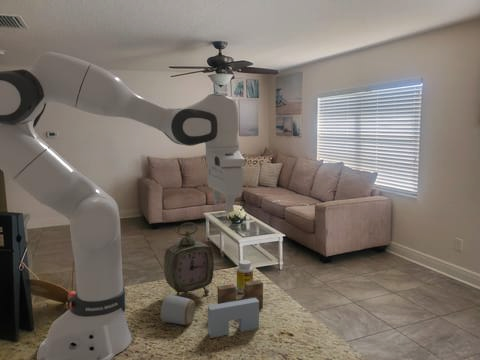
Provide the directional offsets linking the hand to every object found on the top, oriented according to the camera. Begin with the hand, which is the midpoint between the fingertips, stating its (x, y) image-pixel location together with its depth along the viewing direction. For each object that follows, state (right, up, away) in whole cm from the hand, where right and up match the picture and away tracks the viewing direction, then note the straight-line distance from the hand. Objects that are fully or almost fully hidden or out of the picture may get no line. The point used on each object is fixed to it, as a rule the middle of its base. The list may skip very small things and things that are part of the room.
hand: (223, 208), depth 103 cm
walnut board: (+5, -32, +15) cm, 36 cm away
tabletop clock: (-13, -31, +24) cm, 41 cm away
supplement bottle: (+6, -31, +28) cm, 42 cm away
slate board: (+3, -34, +3) cm, 34 cm away
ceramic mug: (-13, -34, +9) cm, 37 cm away
